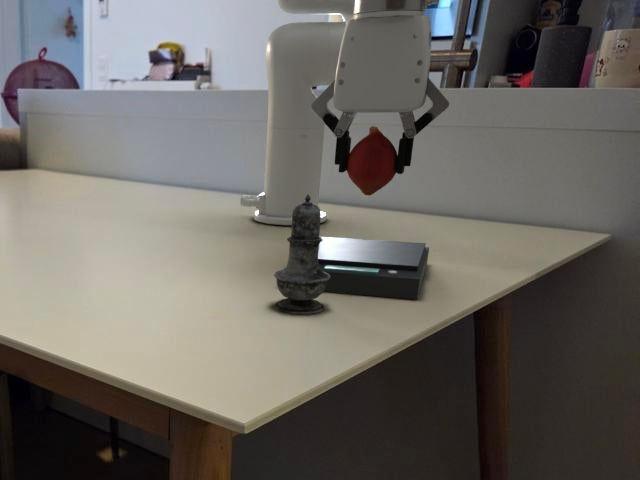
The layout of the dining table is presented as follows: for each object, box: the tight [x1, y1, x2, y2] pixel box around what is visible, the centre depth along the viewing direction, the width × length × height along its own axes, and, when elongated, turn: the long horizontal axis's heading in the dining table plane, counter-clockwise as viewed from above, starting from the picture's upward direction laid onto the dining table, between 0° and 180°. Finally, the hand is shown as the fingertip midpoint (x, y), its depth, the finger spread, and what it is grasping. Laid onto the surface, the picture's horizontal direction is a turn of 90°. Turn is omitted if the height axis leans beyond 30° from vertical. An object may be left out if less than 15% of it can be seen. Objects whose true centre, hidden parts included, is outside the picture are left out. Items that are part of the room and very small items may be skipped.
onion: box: [346, 125, 398, 196], centre depth 87 cm, size 6×6×8 cm
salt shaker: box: [273, 194, 330, 315], centre depth 77 cm, size 6×6×12 cm
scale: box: [318, 236, 430, 300], centre depth 91 cm, size 15×18×3 cm
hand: (371, 170), depth 88 cm, fingers closed on onion, 5 cm apart
